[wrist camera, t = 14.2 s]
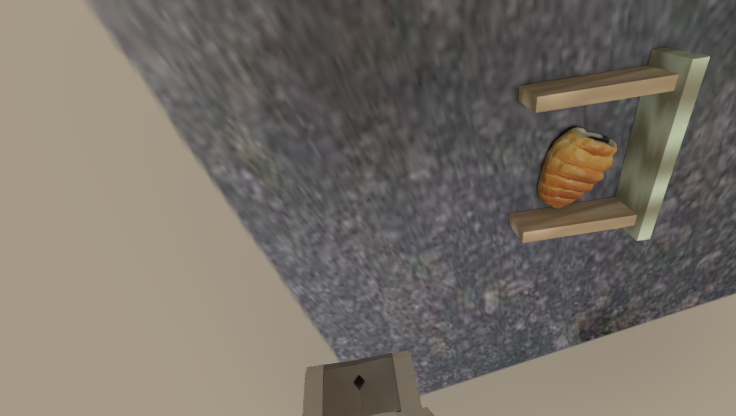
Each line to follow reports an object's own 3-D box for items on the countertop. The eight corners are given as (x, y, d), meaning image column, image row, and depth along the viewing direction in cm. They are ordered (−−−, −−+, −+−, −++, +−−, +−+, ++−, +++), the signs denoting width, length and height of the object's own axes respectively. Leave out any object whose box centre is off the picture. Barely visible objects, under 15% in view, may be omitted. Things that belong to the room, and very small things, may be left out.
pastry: (568, 205, 46) (585, 222, 43) (520, 194, 45) (534, 211, 42) (612, 134, 42) (636, 148, 38) (560, 120, 40) (580, 133, 37)
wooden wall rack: (520, 70, 37) (544, 82, 33) (667, 47, 37) (710, 56, 32) (508, 233, 47) (524, 258, 43) (621, 215, 47) (649, 238, 43)
